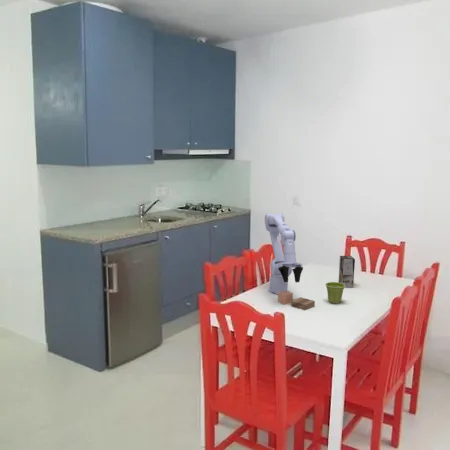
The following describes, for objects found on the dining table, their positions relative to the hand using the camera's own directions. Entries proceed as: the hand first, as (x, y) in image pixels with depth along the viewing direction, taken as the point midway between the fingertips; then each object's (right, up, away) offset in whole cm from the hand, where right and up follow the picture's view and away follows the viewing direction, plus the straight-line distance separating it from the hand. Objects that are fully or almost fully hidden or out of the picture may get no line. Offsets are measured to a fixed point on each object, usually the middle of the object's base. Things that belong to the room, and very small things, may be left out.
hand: (291, 282), depth 221 cm
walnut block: (+5, -12, -2) cm, 13 cm away
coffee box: (+35, -6, +33) cm, 48 cm away
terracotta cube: (-3, -10, +4) cm, 11 cm away
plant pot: (+22, -10, +5) cm, 25 cm away
